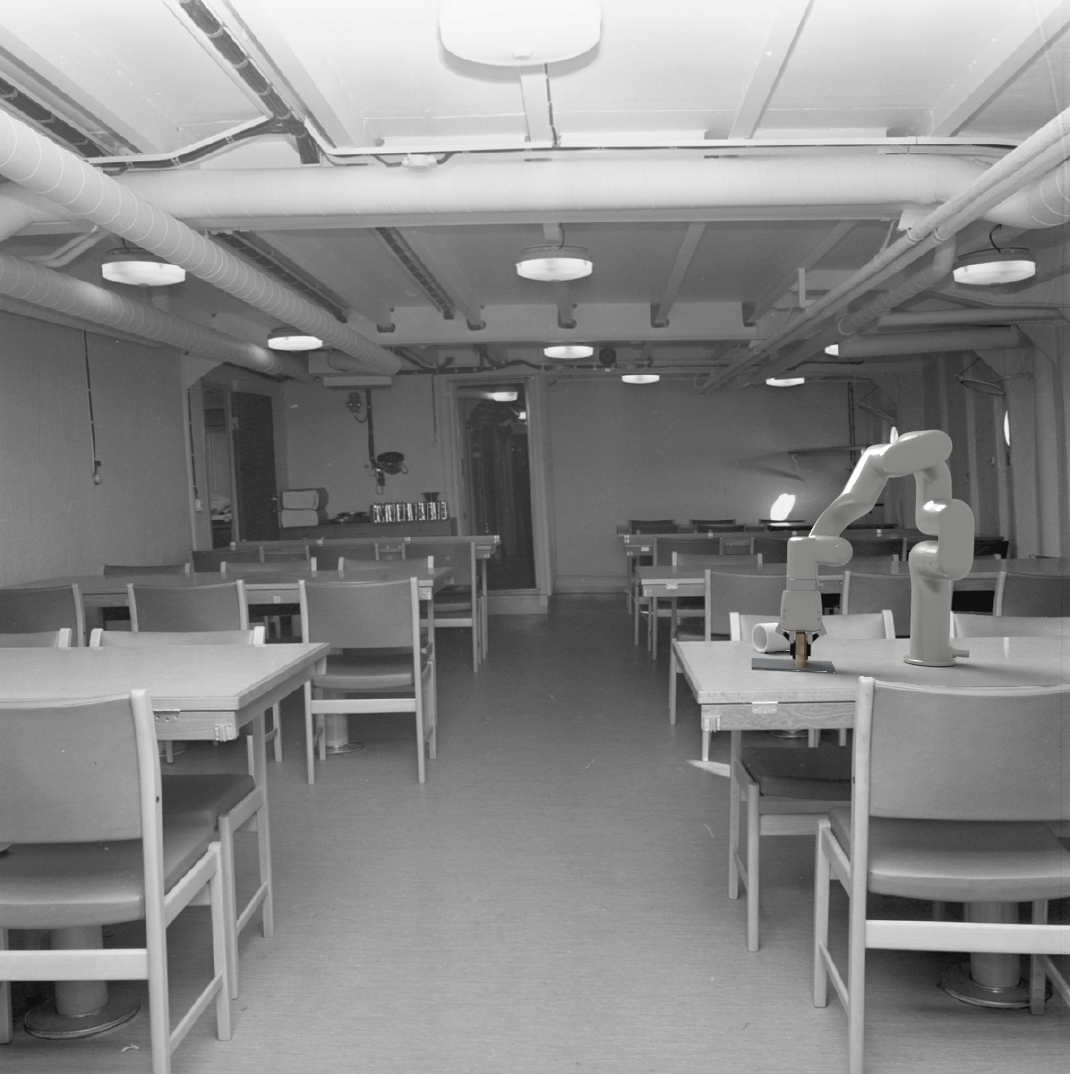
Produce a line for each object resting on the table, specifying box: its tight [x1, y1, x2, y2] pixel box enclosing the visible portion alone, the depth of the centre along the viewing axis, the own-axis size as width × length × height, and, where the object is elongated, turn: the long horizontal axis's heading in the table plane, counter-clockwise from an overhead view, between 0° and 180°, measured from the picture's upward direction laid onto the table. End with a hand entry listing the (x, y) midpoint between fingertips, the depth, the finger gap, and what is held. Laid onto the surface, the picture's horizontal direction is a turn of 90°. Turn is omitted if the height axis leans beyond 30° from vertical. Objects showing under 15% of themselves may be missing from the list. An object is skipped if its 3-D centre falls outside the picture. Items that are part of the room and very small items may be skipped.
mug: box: [751, 622, 795, 654], centre depth 276 cm, size 12×10×8 cm
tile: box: [793, 631, 807, 668], centre depth 250 cm, size 2×9×8 cm, turn 168°
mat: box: [751, 657, 837, 673], centre depth 251 cm, size 20×14×1 cm
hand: (800, 658), depth 250 cm, fingers closed on tile, 2 cm apart
